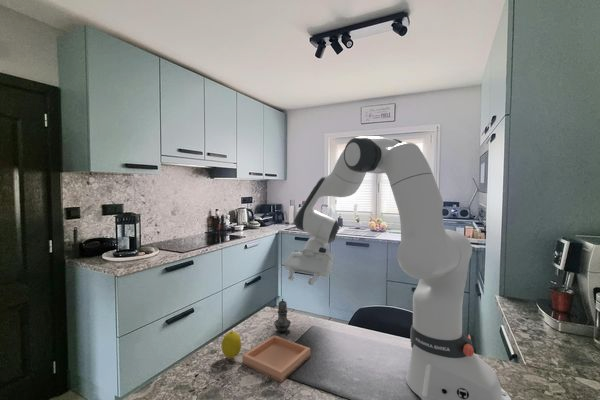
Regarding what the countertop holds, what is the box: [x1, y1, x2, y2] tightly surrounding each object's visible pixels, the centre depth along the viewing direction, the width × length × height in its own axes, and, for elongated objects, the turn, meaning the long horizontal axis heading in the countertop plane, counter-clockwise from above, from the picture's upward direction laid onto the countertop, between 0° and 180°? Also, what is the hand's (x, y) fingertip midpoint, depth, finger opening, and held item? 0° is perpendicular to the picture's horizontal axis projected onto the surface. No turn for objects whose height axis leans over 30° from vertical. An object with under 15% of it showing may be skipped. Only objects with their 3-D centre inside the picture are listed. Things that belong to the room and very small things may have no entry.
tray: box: [242, 334, 311, 383], centre depth 79 cm, size 14×14×2 cm
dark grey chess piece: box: [273, 298, 292, 337], centre depth 96 cm, size 6×6×12 cm
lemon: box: [221, 330, 242, 360], centre depth 80 cm, size 6×6×8 cm
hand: (300, 281), depth 105 cm, fingers open, 8 cm apart
